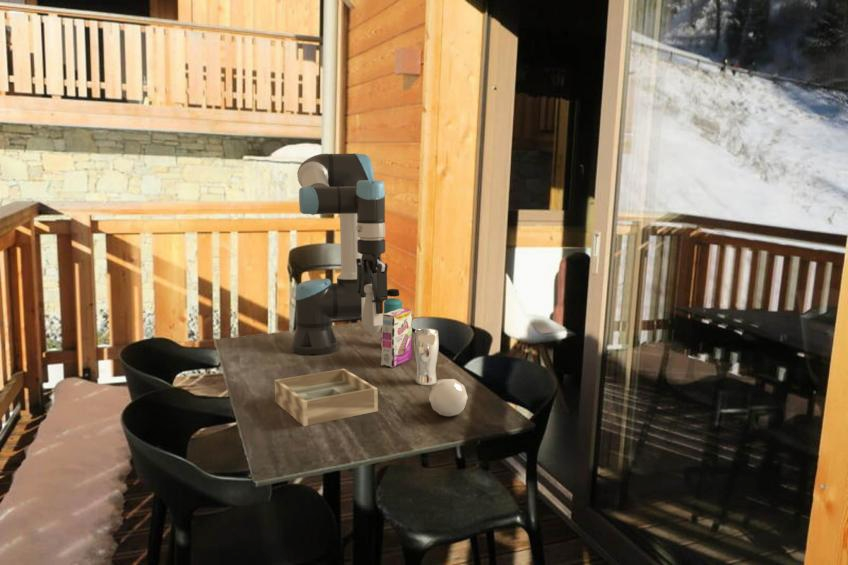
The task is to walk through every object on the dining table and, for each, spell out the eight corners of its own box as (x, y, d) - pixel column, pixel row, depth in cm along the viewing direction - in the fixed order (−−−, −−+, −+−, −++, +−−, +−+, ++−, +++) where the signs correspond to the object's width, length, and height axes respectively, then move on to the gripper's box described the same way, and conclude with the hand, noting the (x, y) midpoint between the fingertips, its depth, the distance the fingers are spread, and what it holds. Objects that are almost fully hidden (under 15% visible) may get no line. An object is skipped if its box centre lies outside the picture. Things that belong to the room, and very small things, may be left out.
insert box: (275, 401, 187) (274, 380, 186) (344, 389, 197) (344, 368, 196) (303, 426, 170) (303, 402, 169) (377, 411, 181) (377, 388, 179)
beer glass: (426, 376, 209) (426, 327, 206) (443, 381, 204) (443, 331, 201) (409, 381, 204) (409, 331, 201) (426, 387, 199) (426, 335, 197)
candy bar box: (394, 368, 217) (393, 316, 214) (380, 366, 219) (379, 314, 216) (412, 359, 226) (412, 309, 223) (399, 357, 229) (399, 307, 226)
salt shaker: (379, 334, 191) (379, 286, 189) (359, 333, 192) (358, 285, 190) (385, 329, 197) (384, 282, 195) (365, 328, 198) (364, 282, 196)
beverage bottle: (385, 344, 245) (384, 287, 241) (404, 344, 244) (404, 287, 240) (381, 349, 238) (381, 290, 235) (401, 350, 238) (400, 291, 234)
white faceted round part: (445, 428, 173) (440, 413, 188) (477, 405, 173) (470, 392, 188) (422, 398, 172) (420, 386, 187) (455, 374, 172) (449, 364, 187)
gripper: (343, 235, 196) (344, 317, 200) (375, 242, 180) (376, 331, 184) (367, 234, 200) (368, 314, 204) (401, 241, 184) (401, 327, 188)
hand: (372, 322), depth 194 cm, fingers closed on salt shaker, 6 cm apart
